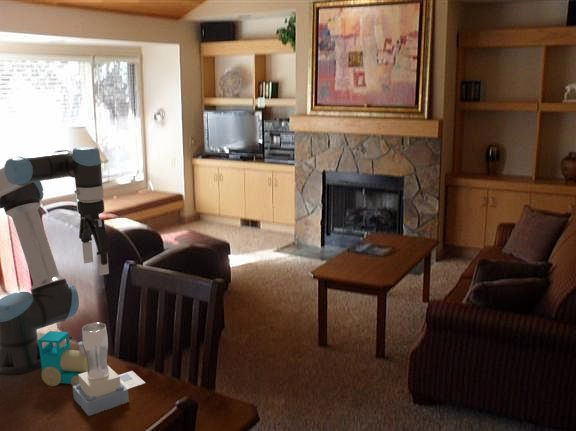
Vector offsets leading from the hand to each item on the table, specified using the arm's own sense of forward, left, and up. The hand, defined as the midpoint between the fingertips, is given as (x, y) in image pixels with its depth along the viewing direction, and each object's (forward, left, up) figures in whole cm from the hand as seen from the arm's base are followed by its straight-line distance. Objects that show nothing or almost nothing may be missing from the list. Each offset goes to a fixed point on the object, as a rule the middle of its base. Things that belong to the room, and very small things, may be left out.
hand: (96, 268), depth 188 cm
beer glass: (+13, -7, -28) cm, 32 cm away
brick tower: (+13, -7, -36) cm, 39 cm away
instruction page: (+7, +4, -36) cm, 37 cm away
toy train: (-3, -9, -36) cm, 38 cm away
